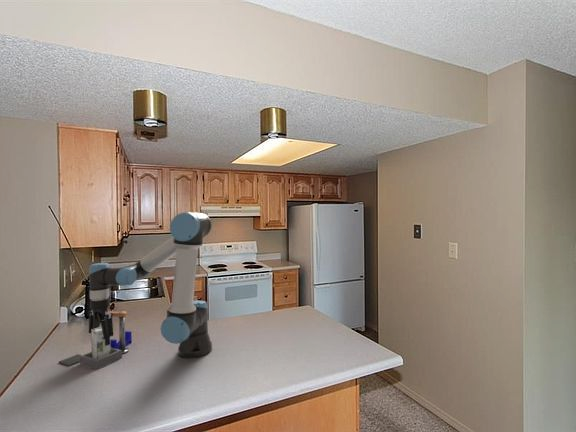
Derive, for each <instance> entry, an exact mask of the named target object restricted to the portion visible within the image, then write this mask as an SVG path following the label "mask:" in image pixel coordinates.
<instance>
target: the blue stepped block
mask: <svg viewBox="0 0 576 432" xmlns="http://www.w3.org/2000/svg"><path fill="white" fill-rule="evenodd" d="M132 336H133V335H132V330H131V331H130V330H127V331H126V330H125V348H127V346H129V345H131V344H132V342H133V341H132V340H133V339H132V338H133V337H132ZM110 345H111V347H112V348H115V349H120V343H119V341H118V340H117V339H111V338H110Z"/></svg>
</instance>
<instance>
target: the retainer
mask: <svg viewBox="0 0 576 432" xmlns="http://www.w3.org/2000/svg"><path fill="white" fill-rule="evenodd" d="M108 313H112V314H113V316H112V317H117V318H119V317H124V316H125V317H126V316H127V311H126V310H122V311H113V310H111V311H110V310H108Z"/></svg>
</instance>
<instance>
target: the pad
mask: <svg viewBox="0 0 576 432" xmlns="http://www.w3.org/2000/svg"><path fill="white" fill-rule="evenodd" d="M82 355H83V354H75V355H72V356H69V357H67V358H64V359H62V360H59V361H58V364H61V365H64V366H67V367H72V366H73V365H77V364H78V363H79V364H80V356H82Z"/></svg>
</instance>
